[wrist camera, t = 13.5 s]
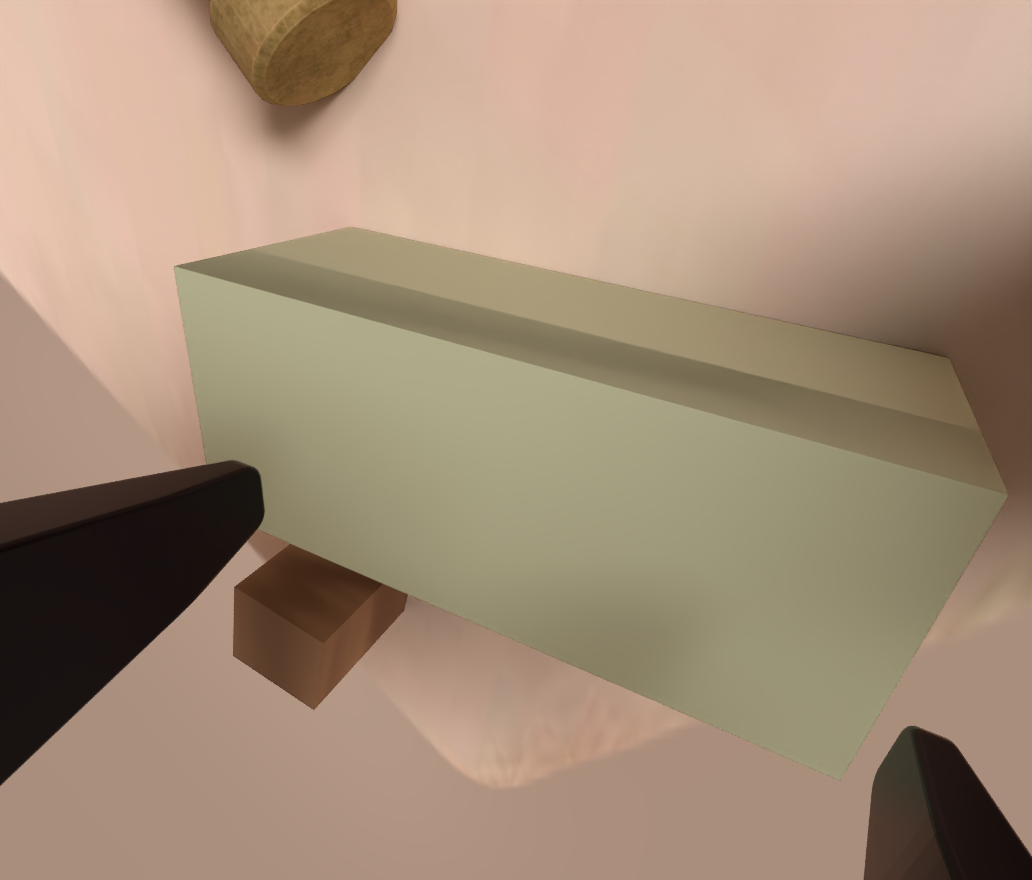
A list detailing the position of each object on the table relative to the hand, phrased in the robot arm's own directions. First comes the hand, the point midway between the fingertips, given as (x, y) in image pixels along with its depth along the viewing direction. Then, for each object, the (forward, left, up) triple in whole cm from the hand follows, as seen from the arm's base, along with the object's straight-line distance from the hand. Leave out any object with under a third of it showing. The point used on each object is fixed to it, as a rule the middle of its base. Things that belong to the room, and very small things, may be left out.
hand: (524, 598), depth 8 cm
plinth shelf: (+3, +3, -12) cm, 13 cm away
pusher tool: (+10, +9, -12) cm, 18 cm away
